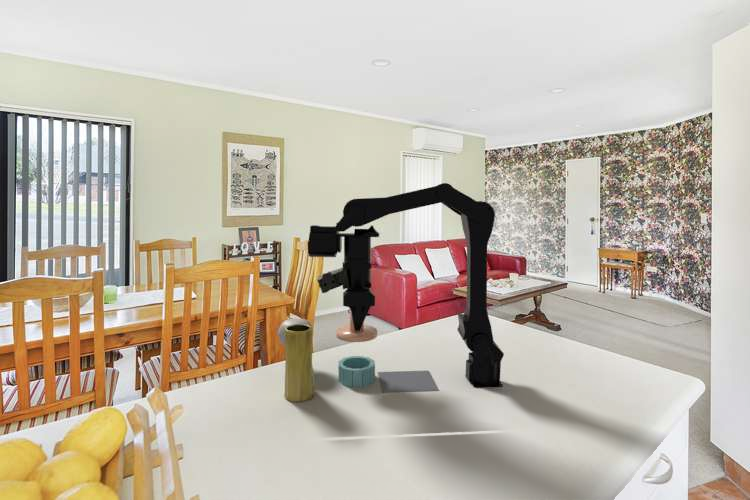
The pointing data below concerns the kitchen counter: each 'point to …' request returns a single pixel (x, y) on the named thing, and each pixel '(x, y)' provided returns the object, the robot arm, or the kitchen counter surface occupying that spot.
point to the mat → (406, 381)
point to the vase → (298, 363)
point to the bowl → (356, 371)
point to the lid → (356, 332)
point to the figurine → (287, 323)
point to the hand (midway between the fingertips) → (357, 328)
